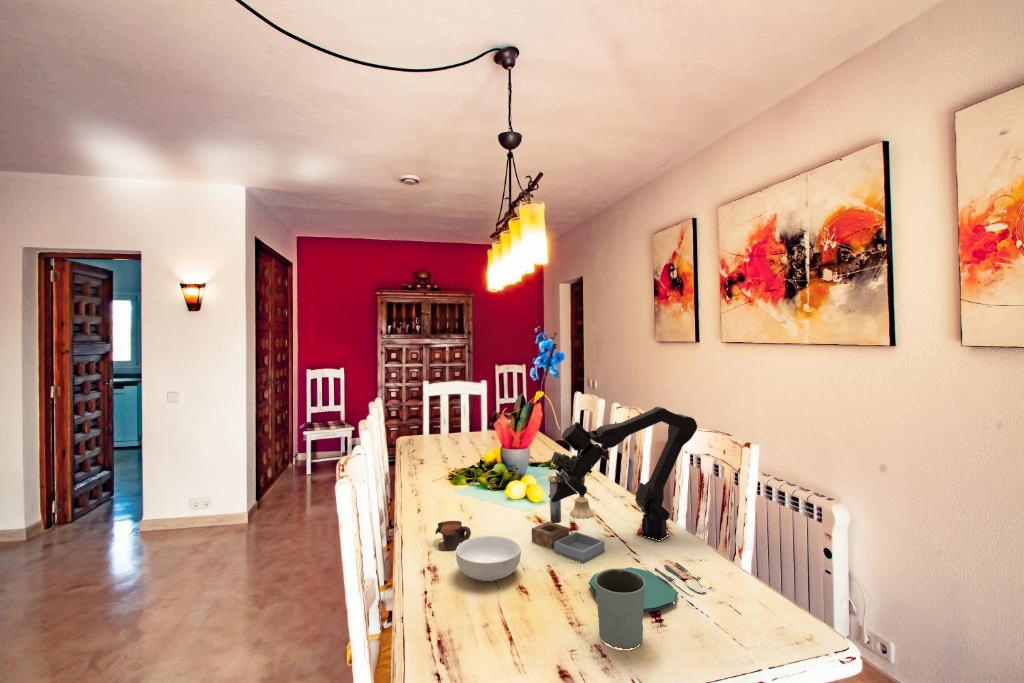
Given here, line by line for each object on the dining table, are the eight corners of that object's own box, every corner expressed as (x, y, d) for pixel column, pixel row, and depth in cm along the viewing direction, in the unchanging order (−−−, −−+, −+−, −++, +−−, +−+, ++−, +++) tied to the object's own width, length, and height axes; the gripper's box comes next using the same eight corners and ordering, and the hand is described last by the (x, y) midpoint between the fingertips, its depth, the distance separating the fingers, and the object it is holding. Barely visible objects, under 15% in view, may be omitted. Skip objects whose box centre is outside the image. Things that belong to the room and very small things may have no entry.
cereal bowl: (462, 595, 117) (461, 566, 117) (451, 565, 134) (451, 539, 134) (529, 585, 122) (528, 556, 122) (511, 557, 138) (511, 532, 138)
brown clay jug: (428, 552, 143) (429, 522, 147) (445, 554, 151) (445, 526, 155) (465, 546, 140) (464, 516, 144) (480, 549, 147) (478, 520, 151)
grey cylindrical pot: (638, 623, 105) (637, 567, 105) (653, 653, 95) (652, 591, 95) (591, 625, 104) (590, 569, 104) (601, 655, 94) (600, 593, 94)
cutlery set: (575, 583, 123) (575, 574, 123) (674, 564, 133) (674, 556, 133) (618, 627, 104) (618, 616, 104) (729, 601, 114) (729, 591, 114)
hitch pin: (564, 520, 147) (563, 477, 147) (557, 524, 144) (555, 480, 144) (554, 517, 149) (553, 475, 149) (546, 521, 146) (545, 478, 146)
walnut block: (569, 541, 148) (568, 527, 148) (551, 549, 143) (551, 535, 143) (549, 534, 154) (548, 521, 154) (531, 541, 148) (531, 528, 148)
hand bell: (595, 518, 167) (594, 471, 167) (571, 518, 167) (570, 472, 167) (592, 510, 175) (591, 465, 175) (568, 510, 175) (568, 466, 175)
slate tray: (604, 551, 140) (604, 541, 140) (583, 563, 133) (583, 552, 133) (576, 541, 148) (576, 531, 148) (554, 552, 140) (554, 542, 140)
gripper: (559, 436, 156) (526, 473, 155) (574, 449, 138) (537, 491, 136) (584, 459, 157) (551, 496, 156) (602, 475, 139) (565, 517, 137)
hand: (550, 499), depth 146 cm, fingers closed on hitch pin, 3 cm apart
